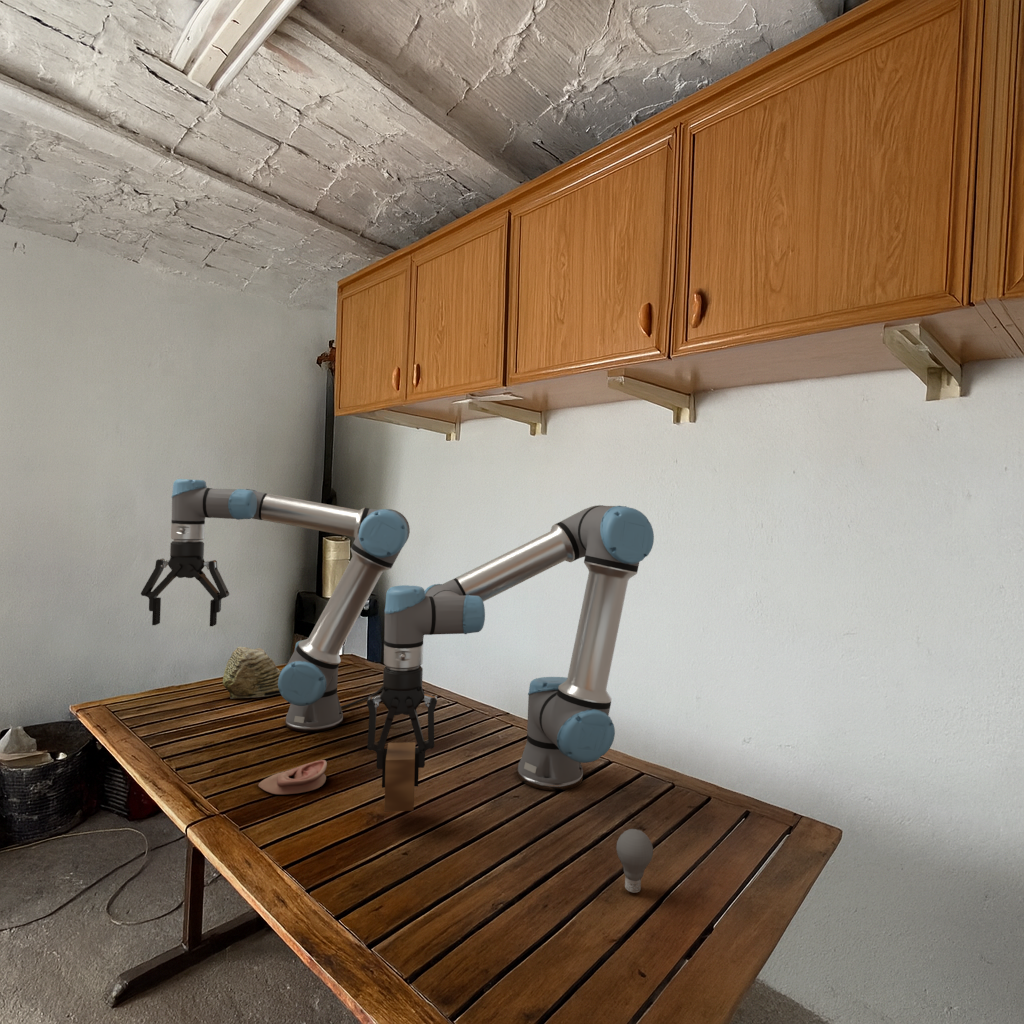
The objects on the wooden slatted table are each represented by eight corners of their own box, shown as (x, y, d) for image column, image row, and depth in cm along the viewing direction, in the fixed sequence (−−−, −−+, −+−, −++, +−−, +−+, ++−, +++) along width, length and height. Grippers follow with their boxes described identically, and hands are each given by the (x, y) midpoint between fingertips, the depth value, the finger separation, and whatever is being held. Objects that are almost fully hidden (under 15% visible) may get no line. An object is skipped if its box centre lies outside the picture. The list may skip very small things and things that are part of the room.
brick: (384, 811, 119) (385, 760, 119) (387, 791, 128) (388, 742, 127) (413, 810, 120) (414, 759, 120) (414, 790, 128) (415, 742, 128)
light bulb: (610, 879, 108) (613, 822, 108) (644, 879, 109) (647, 822, 109) (619, 902, 102) (622, 840, 102) (655, 901, 103) (658, 840, 103)
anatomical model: (250, 772, 134) (280, 751, 146) (249, 790, 135) (280, 768, 146) (307, 780, 132) (333, 759, 143) (306, 799, 132) (333, 776, 143)
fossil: (218, 695, 195) (220, 647, 195) (278, 685, 208) (279, 640, 207) (228, 703, 189) (230, 653, 188) (289, 692, 201) (290, 645, 201)
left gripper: (127, 539, 154) (124, 626, 154) (234, 543, 157) (231, 628, 157) (141, 537, 161) (138, 620, 162) (243, 541, 164) (240, 622, 165)
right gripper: (352, 671, 118) (349, 794, 119) (451, 670, 121) (448, 791, 121) (356, 661, 126) (354, 776, 126) (450, 660, 128) (447, 774, 129)
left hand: (184, 624), depth 159 cm, fingers open, 13 cm apart
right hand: (400, 783), depth 124 cm, fingers closed on brick, 5 cm apart
